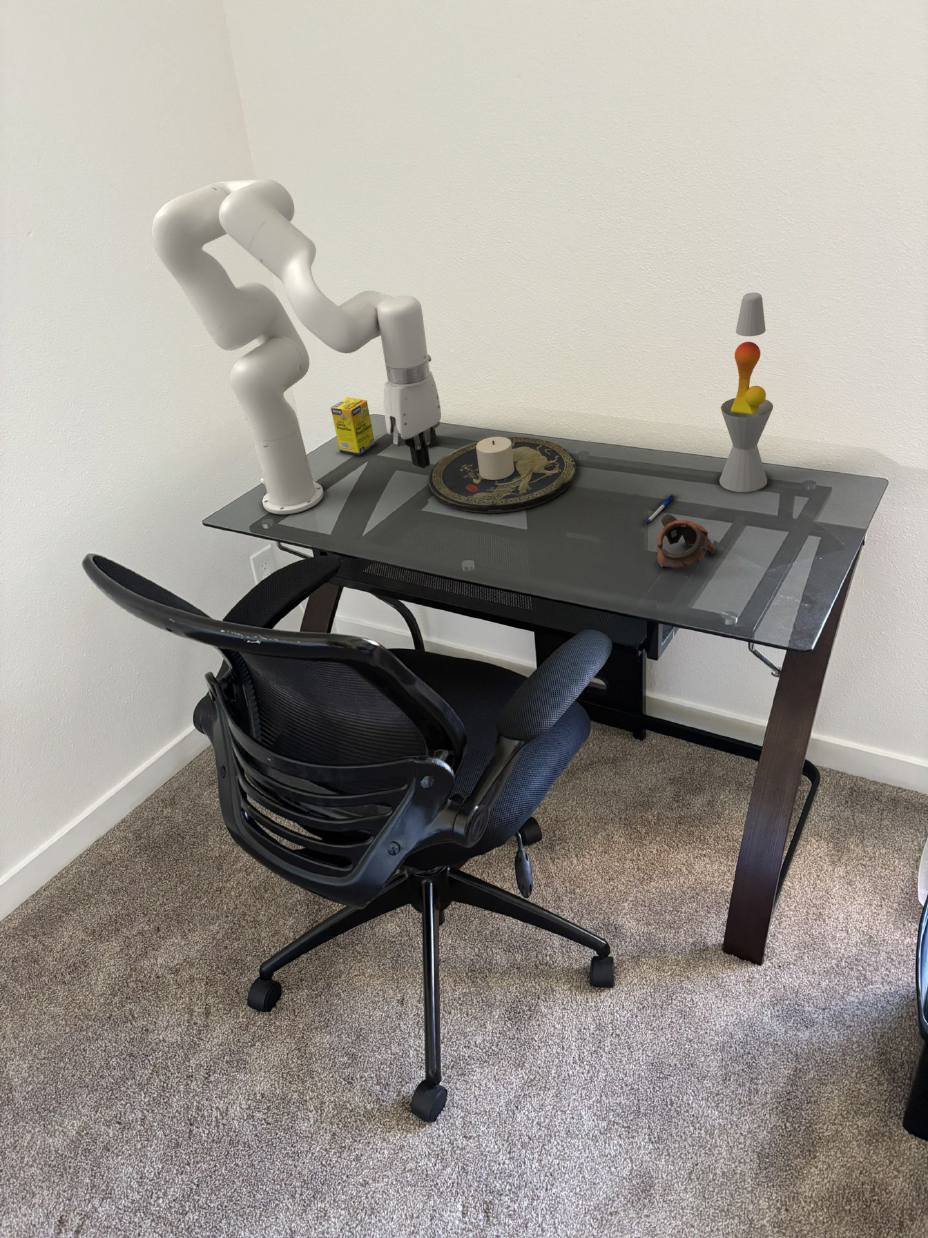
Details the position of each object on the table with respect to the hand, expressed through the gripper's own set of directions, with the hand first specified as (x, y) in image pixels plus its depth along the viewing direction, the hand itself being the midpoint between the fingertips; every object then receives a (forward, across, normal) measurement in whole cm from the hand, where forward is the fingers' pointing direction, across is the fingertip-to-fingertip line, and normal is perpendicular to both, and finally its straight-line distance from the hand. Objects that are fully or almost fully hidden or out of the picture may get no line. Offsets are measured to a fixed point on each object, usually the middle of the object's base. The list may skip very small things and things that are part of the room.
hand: (421, 464), depth 175 cm
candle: (+9, -18, +2) cm, 20 cm away
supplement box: (+12, -13, -36) cm, 40 cm away
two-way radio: (+12, -23, -24) cm, 35 cm away
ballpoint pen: (+10, -25, +36) cm, 45 cm away
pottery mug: (+10, -14, +48) cm, 51 cm away
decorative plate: (+11, -20, +2) cm, 23 cm away
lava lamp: (+10, -42, +43) cm, 61 cm away
